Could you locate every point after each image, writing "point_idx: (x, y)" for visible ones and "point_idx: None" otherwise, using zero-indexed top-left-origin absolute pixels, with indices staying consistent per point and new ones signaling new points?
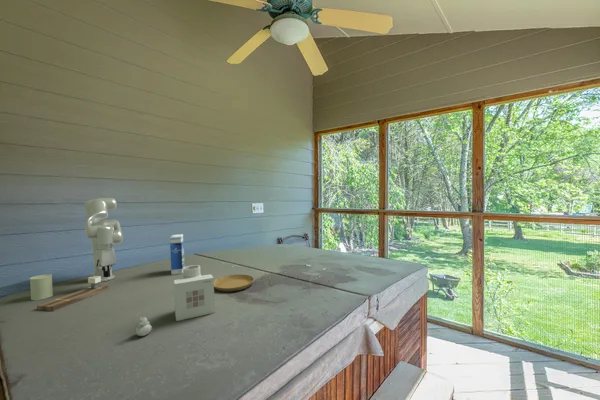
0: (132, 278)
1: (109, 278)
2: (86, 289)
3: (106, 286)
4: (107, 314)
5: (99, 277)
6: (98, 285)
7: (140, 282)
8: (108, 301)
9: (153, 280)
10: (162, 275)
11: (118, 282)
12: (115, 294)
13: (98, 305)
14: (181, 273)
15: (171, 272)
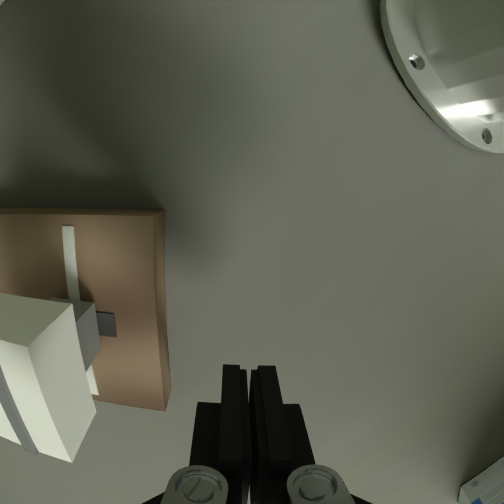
0: (478, 345)
1: (471, 142)
2: (23, 267)
3: (146, 407)
4: (5, 500)
5: (57, 448)
6: (152, 291)
7: (356, 474)
8: (42, 481)
9: (383, 496)
10: (469, 462)
11: (388, 319)
12: (108, 478)
13: (4, 462)
14: (458, 502)
15: (465, 494)
